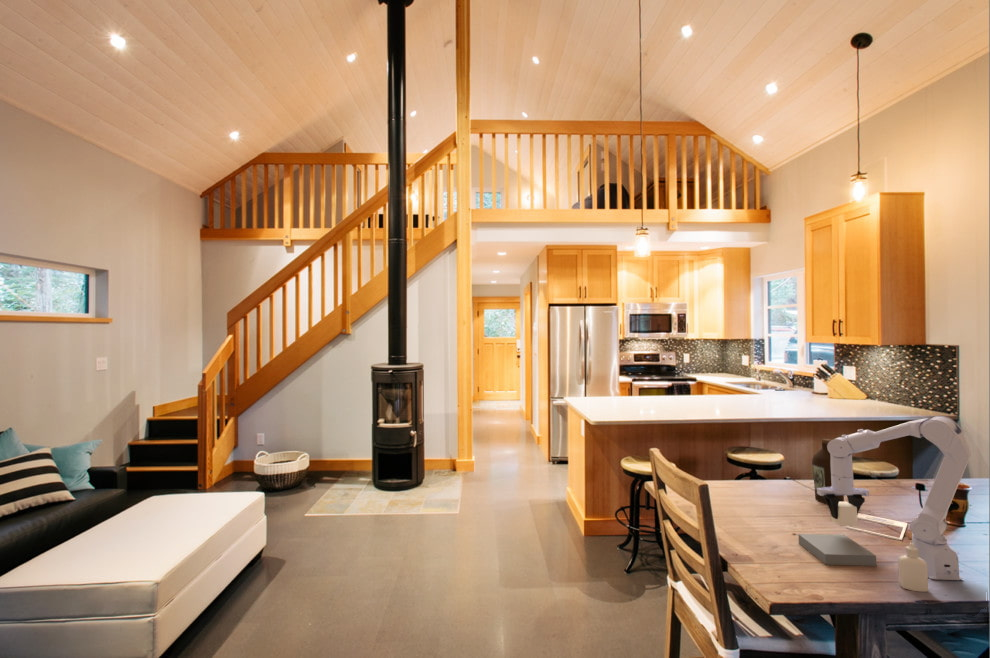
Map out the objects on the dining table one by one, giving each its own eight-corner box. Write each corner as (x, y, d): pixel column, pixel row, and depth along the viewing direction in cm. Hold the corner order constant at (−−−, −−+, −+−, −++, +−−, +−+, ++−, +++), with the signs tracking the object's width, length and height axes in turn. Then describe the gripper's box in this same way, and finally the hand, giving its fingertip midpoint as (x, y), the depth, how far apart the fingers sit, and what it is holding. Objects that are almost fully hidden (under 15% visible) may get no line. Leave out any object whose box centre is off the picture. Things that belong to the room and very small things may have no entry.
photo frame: (907, 522, 160) (901, 538, 147) (907, 525, 160) (901, 542, 147) (855, 511, 170) (846, 526, 158) (855, 514, 170) (846, 529, 158)
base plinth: (876, 565, 132) (876, 555, 132) (825, 564, 134) (825, 554, 134) (844, 544, 146) (844, 534, 146) (798, 543, 148) (798, 533, 148)
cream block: (857, 526, 143) (856, 507, 143) (840, 526, 143) (839, 507, 143) (847, 520, 147) (846, 501, 148) (830, 519, 148) (830, 501, 148)
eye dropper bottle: (901, 581, 124) (899, 537, 124) (929, 589, 119) (927, 543, 120) (898, 587, 121) (895, 541, 121) (926, 595, 117) (924, 549, 117)
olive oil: (833, 496, 189) (831, 436, 189) (852, 505, 178) (849, 442, 179) (807, 496, 189) (805, 436, 190) (824, 505, 179) (822, 442, 179)
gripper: (857, 472, 149) (859, 513, 148) (810, 471, 150) (812, 512, 150) (873, 478, 142) (875, 522, 141) (823, 478, 143) (825, 521, 143)
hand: (843, 517), depth 145 cm, fingers closed on cream block, 5 cm apart
